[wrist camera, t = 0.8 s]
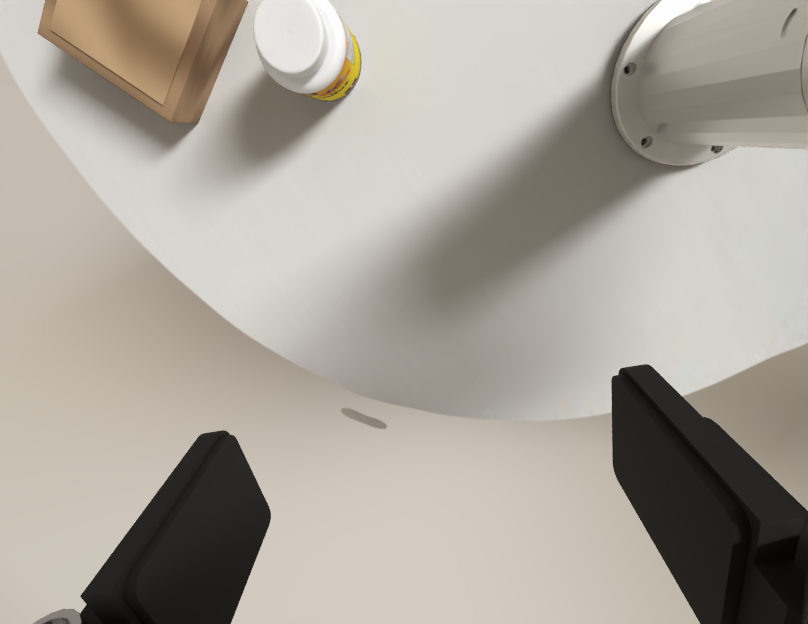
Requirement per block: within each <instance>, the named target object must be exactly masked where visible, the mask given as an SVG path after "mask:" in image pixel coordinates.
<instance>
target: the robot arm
mask: <svg viewBox="0 0 808 624" xmlns="http://www.w3.org/2000/svg"><path fill="white" fill-rule="evenodd" d="M625 67H627V69H628V72H627V73H626V74H625V73H624V68H625ZM611 105H612V111H613V117H614V120H615V123H616V126H617V128H618V131H619V133H620V134H621V136H622V137H623V139H624V140H625V142H626V143H627V144H628V145H629V146H630V147H631V148H632V149H633V150H634V151H635V152H636V153H638V154H639V155H641V156H643V157H645V158H646V159H648V160H651V161H654V162H658V163H661V164H668V165H693V164H698V163H703V162H707V161H710V160H712V159H715V158H718V157H720V156H722V155H724V154H726V153H727V152H729V151H731V150H733V149H734V148H736V147H738V146H739V147H764V148H790V149H808V0H658V1H657V2H656V3H655V4H654V5H653V6H652V7H651V8H650V9H648V10H647V11H646V12H645V14H644V15H643V16H642V17H641V19H640V20H639V21H638V23H637V24H636V25H635V26H634V28H633V29H632V31H631V33H630V34H629V36H628V38H627V40H626V41H625V43H624V45H623V47H622V49H621V52H620V55H619V57H618V60H617V62H616V65H615V70H614V74H613V79H612V86H611ZM642 139H644V143H643V144H642V145H641V140H642ZM711 147H712V149H711ZM612 435H613V436H612V439H613V440H612V442H613V467H614V472H615V475H616V477H617V480H618V481H619V483H620V485H621V487H622V489H623V490H624V492H625V494H626V495H627V497H628V499H629V500H630V502H631V504H632V506H633V508H634V509H635V511H636V513H637V514H638V516H639V518H640V520H641V521H642V523H643V525H644V527H645V528H646V530H647V532H648V533H649V535H650V537H651V539H652V540H653V542H654V544H655V546H656V547H657V549H658V551H659V553H660V554H661V556H662V558H663V560H664V561H665V563H666V565H667V566H668V568H669V570H670V572H671V573H672V575H673V577H674V579H675V580H676V582H677V584H678V585H679V587H680V589H681V591H682V592H683V594H684V596H685V598H686V599H687V601H688V603H689V605H690V606H691V608H692V609H693V612H694V613H695V615H696V617H697V618H698V620H699V622H700V624H808V511H807V510H806V509H805V508H804V507H803V506H802V505H801V504H800V503H799V502H798V501H796V499H794V497H793V496H791V495H790V494H789V493H788V492H787V491H786V490H785V489H784V488H783V487H782V486H781V485H780V484H779V483H778V482H777V481H776V480H775V479H774V478H773V477H772V476H771V475H770V474H769V473H768V472H767V471H765V470H764V469H763V468H762V467H761V466H760V465H759V464H758V463H757V462H756V461H755V460H754V459H753V458H752V457H751V456H750V455H749V454H748V453H747V452H746V451H745V450H744V449H743V448H742V447H740V445H738V444H737V443H736V442H735V441H734V440H733V439H732V438H731V437H730V436H729V435H728V434H727V433H726V432H725V431H724V430H723V429H722V428H721V427H720V426H719V425H718V424H717V423H715V422H714V421H713V420H711V419H709V418H706V417H702V416H701V415H700V414H699V413H698V412H697V411H696V410H695V409H694V408H693V407H692V406H691V405H690V404H689V403H688V402H687V401H686V400H685V399H684V398H683V397H682V396H681V395H680V394H679V393H678V392H677V391H676V390H675V389H674V388H673V387H672V386H671V385H670V384H669V383H668V382H667V381H666V380H665V379H664V378H663V377H662V376H661V375H660V374H659V373H658V372H657V371H656V370H655V369H654V368H653V367H651V366H650V365H647V364H645V365H639V366H632V367H626V368H621V369H620V371H619V375H616V376H613V377H612ZM270 519H271V513H270V509H269V506H268V504H267V502H266V500H265V498H264V496H263V494H262V492H261V489H260V487H259V485H258V483H257V481H256V479H255V477H254V475H253V473H252V470H251V468H250V466H249V464H248V462H247V460H246V458H245V456H244V454H243V452H242V450H241V448H240V445H239V443H238V441H237V439H236V437H235V436H233V435H230V434H229V433H228V432H227V431H217V432H210V433H204V434H201V435H200V436H199V437H198V438H197V440H196V441H195V442H194V444H193V445H192V446H191V448H190V449H189V450H188V452H187V453H186V454H185V456H184V457H183V458H182V460H181V462H180V463H179V464H178V465H177V467H176V468H175V469H174V471H173V472H172V473H171V475H170V476H169V477H168V479H167V480H166V481H165V483H164V484H163V486H162V487H161V488H160V489H159V491H158V492H157V494H156V495H155V496H154V498H153V499H152V500H151V502H150V503H149V504H148V506H147V507H146V508H145V510H144V511H143V513H142V514H141V515H140V516H139V518H138V519H137V520H136V522H135V523H134V525H133V526H132V527H131V529H130V530H129V532H128V533H127V534H126V535H125V537H124V538H123V540H122V541H121V542H120V544H119V545H118V546H117V547H116V549H115V550H114V552H113V553H112V554H111V556H110V557H109V558H108V560H107V561H106V563H105V564H104V565H103V566H102V568H101V569H100V571H99V572H98V573H97V575H96V576H95V577H94V579H93V580H92V581H91V583H90V584H89V585H88V587H87V588H86V589H85V591H84V592H83V593H82V595H81V598H82V599H83V600H84V601H85V602H86V604H87V605H86V606H85V608H84V609H83V611H82V612H81V613H79V612H77V611H75V610H74V609H62V610H59V611H56V612H53V613H51V614H49V615H47V616H45V617H43V618H41V619H39V620H38V621H36V622H35V623H34V624H231V621H232V619H233V616H234V614H235V611H236V609H237V606H238V603H239V601H240V598H241V596H242V593H243V591H244V588H245V585H246V583H247V580H248V578H249V575H250V573H251V570H252V568H253V565H254V562H255V560H256V557H257V555H258V552H259V550H260V547H261V545H262V542H263V539H264V537H265V534H266V532H267V529H268V527H269V523H270Z"/></svg>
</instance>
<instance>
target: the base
mask: <svg viewBox="0 0 808 624" xmlns="http://www.w3.org/2000/svg"><path fill="white" fill-rule="evenodd" d="M247 4H248V1H246V0H45V4H44V8H43V12H42V17H41V21H40V25H39V29H38V34H39V35H41V36H42V37H44V38H45V39H47V40H48V41H50V42H51V43H53V44H54V45H56V46H57V47H59V48H60V49H62V50H63V51H65V52H66V53H68V54H69V55H71V56H72V57H74V58H75V59H77V60H78V61H80V62H81V63H83V64H84V65H86V66H87V67H89V68H90V69H92V70H93V71H95V72H96V73H98V74H99V75H101V76H102V77H104V78H105V79H107V80H108V81H110V82H111V83H113V84H114V85H116V86H117V87H119V88H120V89H122V90H123V91H125V92H126V93H128V94H129V95H131V96H132V97H134V98H135V99H137V100H138V101H140V102H141V103H143V104H144V105H146V106H147V107H149V108H150V109H152V110H153V111H155V112H156V113H158V114H159V115H161V116H162V117H164V118H165V119H167V120H168V121H170V122H184V123H198V122H199V120H200V117H201V115H202V112H203V110H204V107H205V105H206V103H207V100H208V98H209V95H210V93H211V91H212V88H213V86H214V83H215V81H216V78H217V76H218V74H219V71H220V69H221V66H222V64H223V62H224V59H225V57H226V54H227V52H228V50H229V47H230V45H231V42H232V40H233V37H234V35H235V33H236V30H237V28H238V25H239V23H240V21H241V18H242V16H243V13H244V11H245V8H246V6H247Z"/></svg>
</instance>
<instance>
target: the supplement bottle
mask: <svg viewBox="0 0 808 624" xmlns="http://www.w3.org/2000/svg"><path fill="white" fill-rule="evenodd" d="M253 31H254V38H255V42H256V47H257V51H258V55H259V57H260V60H261V62H262V64H263V66H264V68H265V69H266V71H267V72H268V73H269V75H270V76H271V77H272V78H273V79H274V80H275V81H276V82H277V83H278V84H280V85H281V86H283V87H284V88H286V89H288V90H290V91H293V92H296V93H299V94H302V95H305V96H308V97H311V98H314V99H318V100H322V101H335V100H338V99H341V98H343V97H344V96H346V95H347V94H348V93H350V92H351V90H352V89H353V88H354V87H355V85H356V83H357V81H358V79H359V76H360V72H361V53H360V49H359V46H358V43H357V41H356V39H355V37H354V35H353V34H352V32H351V31H350V30H349V28H348V27H347V25H346V24H345V22H344V21H343V20H342V18H341V17H340V15H339V14H338V12H337V11H336V10H335V8H334V7H333V6H332V4H331V3H330V2H329V1H328V0H262V1H261V3H260V4H259V6H258V8H257V10H256V13H255V16H254V23H253Z"/></svg>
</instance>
